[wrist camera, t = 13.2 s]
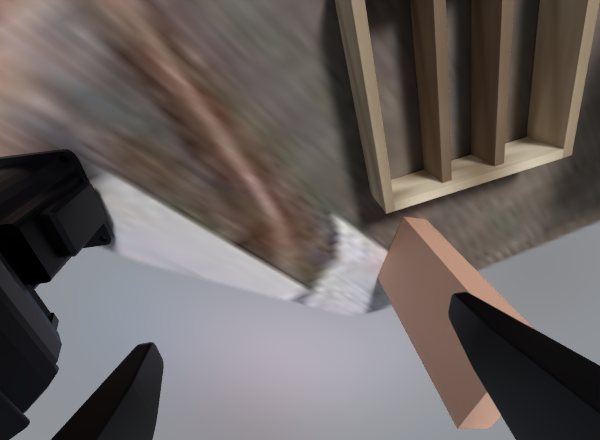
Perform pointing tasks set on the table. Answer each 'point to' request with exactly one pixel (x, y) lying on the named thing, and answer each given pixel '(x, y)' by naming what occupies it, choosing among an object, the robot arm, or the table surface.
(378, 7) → the table surface
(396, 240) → the rectangular block
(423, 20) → the slot box
